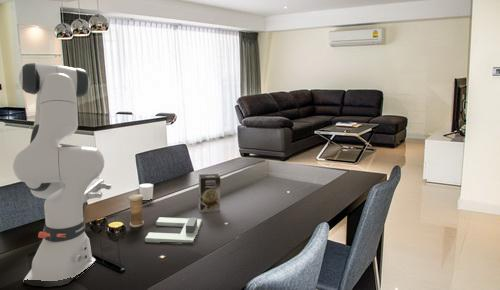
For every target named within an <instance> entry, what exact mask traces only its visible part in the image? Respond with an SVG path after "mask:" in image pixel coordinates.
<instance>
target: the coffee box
mask: <svg viewBox="0 0 500 290" xmlns="http://www.w3.org/2000/svg"><path fill="white" fill-rule="evenodd" d="M197 202H198V205H197V206H198V211H199V213H212V212H220V211H221V209H220V208H221V206H220V205H221V176H220V174H219V173H209V174H208V173H207V174H206V173H205V174H204V173H203V174H198V201H197Z"/></svg>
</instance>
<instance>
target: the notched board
mask: <svg viewBox="0 0 500 290" xmlns="http://www.w3.org/2000/svg"><path fill="white" fill-rule="evenodd" d="M202 222H203V219H202V218H198V217H188V218H185V217H158V219H156V222H155V225H156V226H163V227H180V228H181V227H182V229H181V231H180V233H172V232H169V233H168V232H148V233H147V235H146V236H145V238H144V240H145V242H146V243H160V242H193V241H194V239H195V240H196V238H197V236H196V235H198V233H199V231H198V230H200V228H201V226H202ZM195 237H196V238H195ZM194 242H195V241H194Z"/></svg>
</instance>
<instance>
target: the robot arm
mask: <svg viewBox="0 0 500 290" xmlns="http://www.w3.org/2000/svg"><path fill="white" fill-rule="evenodd" d="M18 75H19V76H18V82H19V85H20V87H21V89H22V91H24V92H25V93H27V94H30V95H34V96H36V100H35V114H34V122H33V128H32V131H31V136H30V141H29V144H28V145H27V146H26V147H25V148H24V149H22V150H21V151H19V152H18V153H17V154H16V156H15V158H14V160H13V164H12V170H13V172H14V175H15V176H16V178H17V179H18V180H19V181H20V182H22V183H24V185H25V187H27V188H28V189H29V190H30V192H31V194H32V195H33V196H34V197H37V198H40V199H45V200H44V203H43V208H44V220H45V221H44V222H45V223H44V227H43V230H42V231H39V232H38V234H37V235H38V236H37V237H38V238H39V239H42V240H41V242H40V244H39V247H38V248H37V251H36V253H35V255H34V256H33V259H32V262H31V269H30V270H29V271H28V273H27V274H26V276H25V277H24V279H23V281H24V280H27V279H28V280H41V281H58V280H63V279H67V278H70V277H71V278H73V277H75V276H76V275H78V274H80V273H81V272H83V271H84V270H85V269H87V268H88V267H90V266H91V265H92V264H93V263H94V262H95V261H96V258H95V257H94V256H93V254H92V249H91V243H90V242H91V241H90V240H91V239H90V238H89V237H88V235H87V233H86V232H85V231H86V222H85V218H84V213H83V212H84V211H83V210H84V208H83V206H84V203H86V202H87V201H89V200H92V199H96V198H97V199H98V198H99V199H101V198H102V197H103V192H102V191H101V192H100V190H101V189H105V190H111V189H112V185H111V184H109V183H106V182H105V179H104V178H100V177H99V176H100V175H101V174H102V173H103V170H104V168H105V159H104V156H103V154H102V152H101V151H100V149H99V148H96V147H92V146H82V145H79V146H78V145H76V146H59V144H60V142H61V141H62V140H65V139H66V138H68V137H70V136H72V135H73V134H74V133H76V131H77V130H78V127H79V118H78V117H79V116H78V115H79V114H78V111H79V110H78V98H81V97H84V96H86V95H87V94H88V91H89V90H90V86H91V81H90V77H89V74H88V72H87V71H86V70H85V69H84V68H80V67H72V66H71V67H70V66H66V65H57V64H56V63H55V64H54V63H53V64H52V63H35V62H32V63H31V62H30V63H25V64H24V65H22V68H21V70H20V71H19V73H18ZM96 262H97V261H96ZM93 265H94V264H93ZM93 265H92V266H93ZM92 266H91V267H92ZM91 267H90V268H91ZM88 269H89V268H88ZM88 269H87V270H88ZM83 273H84V272H83Z"/></svg>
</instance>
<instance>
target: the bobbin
mask: <svg viewBox="0 0 500 290" xmlns="http://www.w3.org/2000/svg"><path fill="white" fill-rule="evenodd" d="M142 199H143V196H142V195H140V194H132V195H129V196H128V201H129V202H130V207H129V208H130V222H129V227H131V228H141V227H142V226H144V225H145V222H144V219H143V201H142Z"/></svg>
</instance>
